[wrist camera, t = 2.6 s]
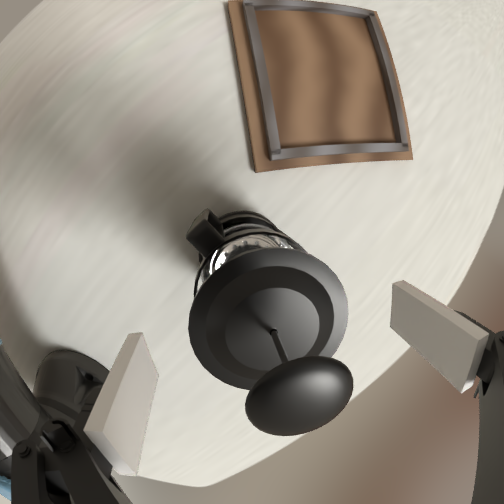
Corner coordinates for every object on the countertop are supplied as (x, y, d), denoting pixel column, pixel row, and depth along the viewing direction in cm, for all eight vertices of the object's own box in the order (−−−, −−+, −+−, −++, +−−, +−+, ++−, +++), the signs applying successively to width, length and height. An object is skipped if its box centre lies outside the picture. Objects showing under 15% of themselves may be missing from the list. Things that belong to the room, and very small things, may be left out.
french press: (304, 259, 32) (439, 384, 10) (242, 313, 33) (288, 490, 11) (235, 180, 29) (299, 171, 7) (170, 240, 30) (80, 375, 8)
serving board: (255, 172, 29) (258, 171, 27) (227, 5, 24) (228, -5, 21) (407, 159, 31) (418, 159, 29) (372, 15, 25) (380, 7, 23)
